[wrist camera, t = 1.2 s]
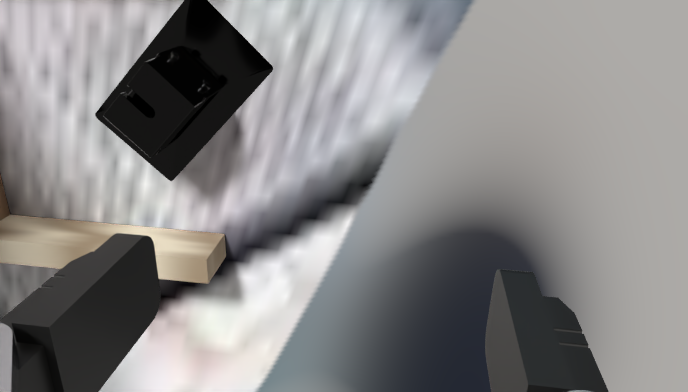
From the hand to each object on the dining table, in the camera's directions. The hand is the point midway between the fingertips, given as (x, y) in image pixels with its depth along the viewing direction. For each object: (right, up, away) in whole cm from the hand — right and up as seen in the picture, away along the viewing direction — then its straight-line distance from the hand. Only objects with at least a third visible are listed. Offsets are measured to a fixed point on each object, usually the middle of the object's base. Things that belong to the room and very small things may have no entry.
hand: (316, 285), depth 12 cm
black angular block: (-8, +8, +17) cm, 20 cm away
